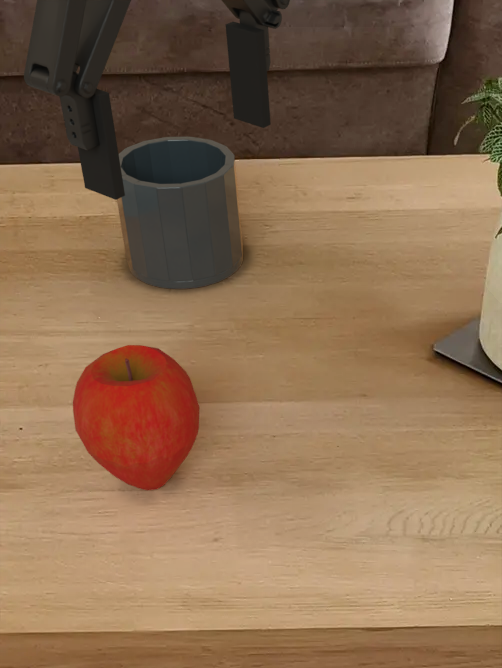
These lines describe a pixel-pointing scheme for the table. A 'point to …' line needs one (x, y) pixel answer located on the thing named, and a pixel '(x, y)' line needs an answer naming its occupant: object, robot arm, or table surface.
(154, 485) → the apple
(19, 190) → the table surface
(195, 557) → the table surface
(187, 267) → the dark gray cup
